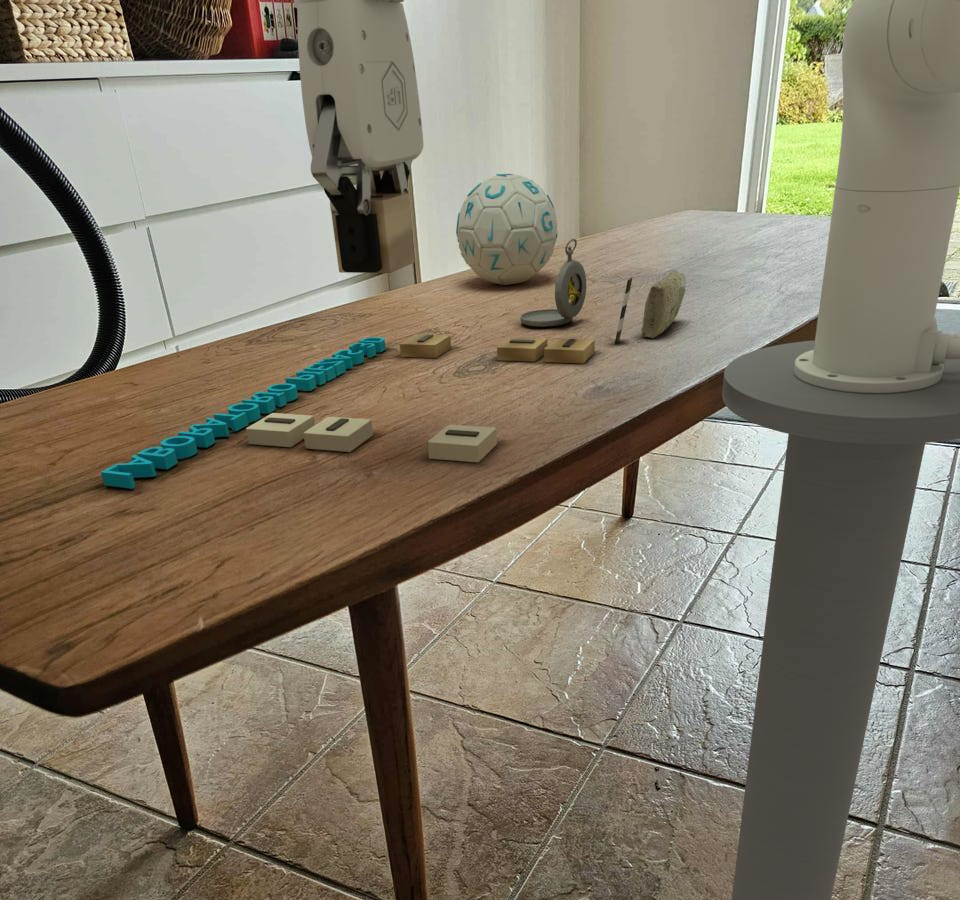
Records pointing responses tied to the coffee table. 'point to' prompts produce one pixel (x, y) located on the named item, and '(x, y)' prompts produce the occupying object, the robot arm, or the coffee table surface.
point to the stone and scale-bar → (658, 304)
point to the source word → (507, 348)
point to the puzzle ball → (507, 229)
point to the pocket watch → (562, 295)
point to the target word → (366, 436)
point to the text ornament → (238, 415)
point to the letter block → (389, 231)
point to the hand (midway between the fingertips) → (377, 262)
